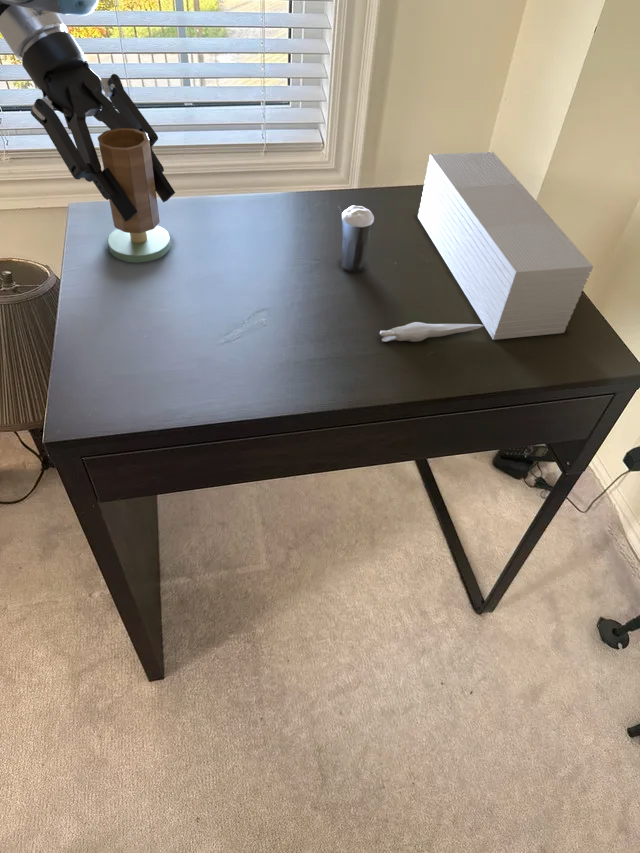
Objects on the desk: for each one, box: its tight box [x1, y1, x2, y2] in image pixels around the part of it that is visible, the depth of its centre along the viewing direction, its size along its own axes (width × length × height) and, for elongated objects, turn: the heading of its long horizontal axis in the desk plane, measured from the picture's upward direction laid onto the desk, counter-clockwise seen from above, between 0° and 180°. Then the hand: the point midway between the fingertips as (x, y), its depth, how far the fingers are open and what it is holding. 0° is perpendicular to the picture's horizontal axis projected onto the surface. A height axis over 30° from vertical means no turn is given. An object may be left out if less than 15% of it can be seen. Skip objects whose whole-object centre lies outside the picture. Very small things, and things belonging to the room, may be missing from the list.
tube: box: [97, 128, 161, 233], centre depth 89 cm, size 6×7×12 cm
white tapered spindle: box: [379, 321, 485, 343], centre depth 86 cm, size 15×3×2 cm, turn 103°
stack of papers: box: [417, 151, 594, 341], centre depth 94 cm, size 32×11×11 cm, turn 13°
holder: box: [107, 225, 172, 264], centre depth 93 cm, size 9×9×9 cm
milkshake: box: [337, 204, 375, 273], centre depth 92 cm, size 4×5×10 cm
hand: (150, 206), depth 89 cm, fingers closed on tube, 6 cm apart
